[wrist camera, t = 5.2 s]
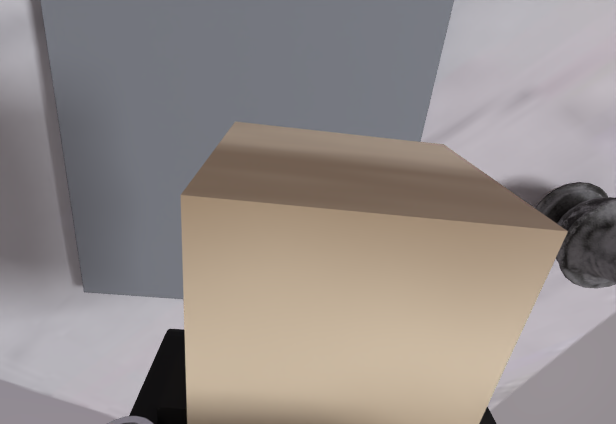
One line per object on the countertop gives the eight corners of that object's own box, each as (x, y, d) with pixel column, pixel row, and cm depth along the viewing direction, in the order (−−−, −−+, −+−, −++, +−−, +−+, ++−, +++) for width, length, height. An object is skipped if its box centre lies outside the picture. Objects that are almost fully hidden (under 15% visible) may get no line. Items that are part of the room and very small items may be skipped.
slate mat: (32, -126, 17) (20, -134, 16) (462, -59, 18) (468, -64, 17) (90, 285, 25) (84, 292, 24) (377, 305, 27) (379, 312, 26)
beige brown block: (235, 121, 9) (176, 200, 4) (443, 144, 9) (576, 237, 5) (223, 450, 14) (191, 636, 9) (358, 456, 14) (385, 637, 10)
